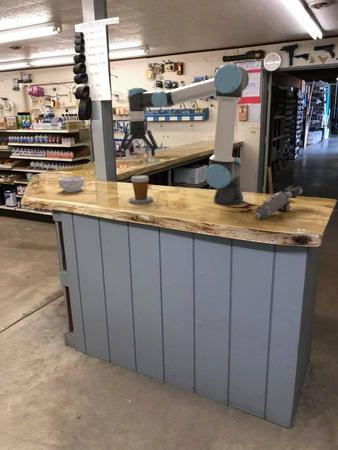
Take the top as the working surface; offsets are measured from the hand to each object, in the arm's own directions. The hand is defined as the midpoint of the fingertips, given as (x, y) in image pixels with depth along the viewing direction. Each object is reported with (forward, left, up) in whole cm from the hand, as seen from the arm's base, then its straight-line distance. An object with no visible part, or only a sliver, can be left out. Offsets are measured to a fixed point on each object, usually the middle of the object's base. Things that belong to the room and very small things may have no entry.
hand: (139, 162), depth 194 cm
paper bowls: (+54, -16, -21) cm, 60 cm away
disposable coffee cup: (0, 0, -20) cm, 20 cm away
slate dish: (0, 0, -21) cm, 21 cm away
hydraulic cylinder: (-71, +7, -21) cm, 74 cm away
